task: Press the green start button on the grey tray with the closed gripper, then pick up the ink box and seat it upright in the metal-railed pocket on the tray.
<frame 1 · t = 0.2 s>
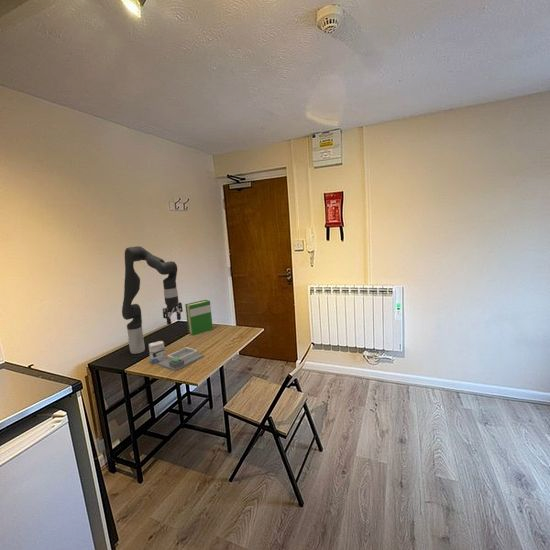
hand: (174, 322, 180), 28 cm above the table, fingers open, 8 cm apart
grey tray: (181, 360, 191), on the table
ink box: (158, 360, 193), on the table
start button: (176, 360, 182), point 5 cm above the table, slide at 0.0 cm
hardback book: (200, 331, 243), on the table
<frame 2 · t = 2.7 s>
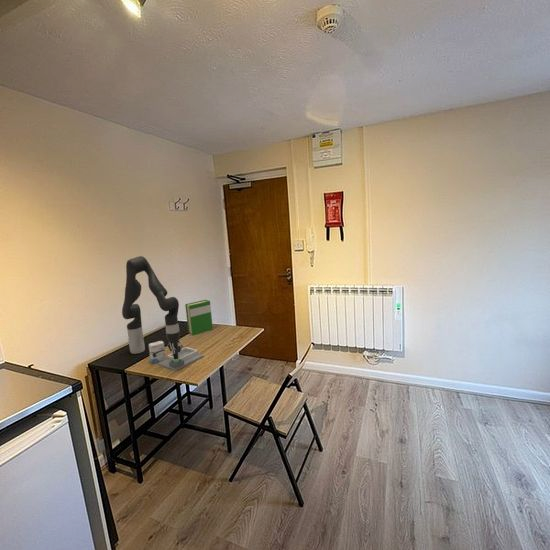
hand: (176, 358, 181), 6 cm above the table, fingers closed
start button: (176, 361, 182), point 4 cm above the table, slide at 0.8 cm, touching gripper
everything else where it was.
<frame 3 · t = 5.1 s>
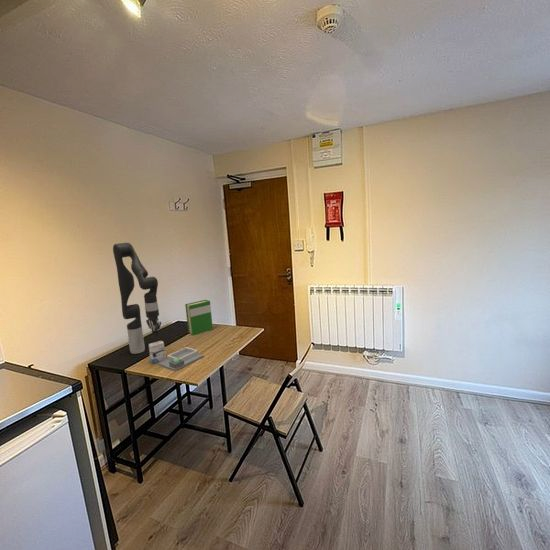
hand: (155, 335, 191), 17 cm above the table, fingers closed
start button: (176, 361, 182), point 3 cm above the table, slide at 1.1 cm
everything else where it was.
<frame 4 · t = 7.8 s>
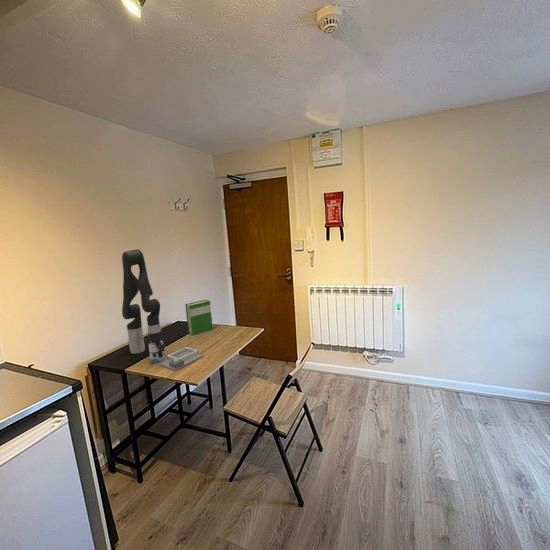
hand: (157, 356, 193), 3 cm above the table, fingers closed on ink box, 6 cm apart
ink box: (158, 360, 193), on the table, touching gripper
everything else where it was.
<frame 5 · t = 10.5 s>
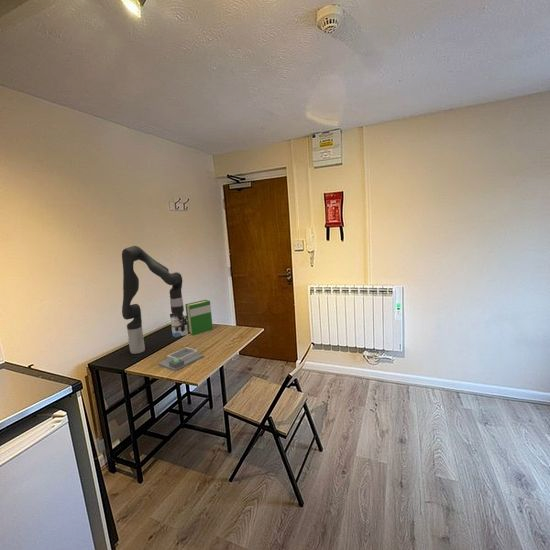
hand: (179, 330, 191), 19 cm above the table, fingers closed on ink box, 6 cm apart
ink box: (180, 335, 192), point 16 cm above the table, touching gripper
everything else where it was.
when the fingers open (5 cm above the table, at t = 13.5 s): ink box stays where it is, resting on grey tray.
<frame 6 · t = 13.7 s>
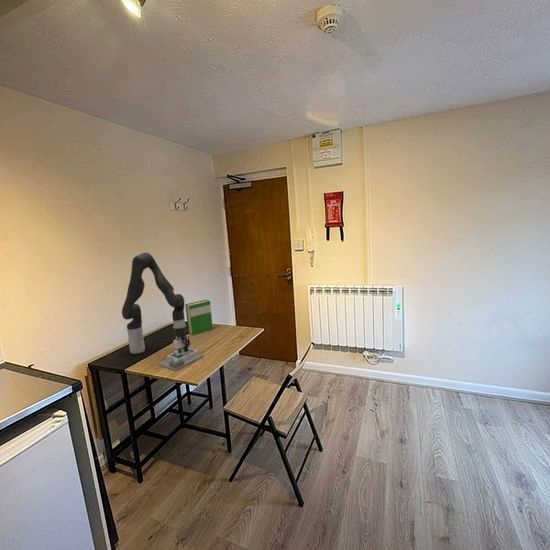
hand: (182, 350, 193), 5 cm above the table, fingers open, 7 cm apart
ink box: (182, 356, 194), point 1 cm above the table, touching grey tray
everything else where it was.
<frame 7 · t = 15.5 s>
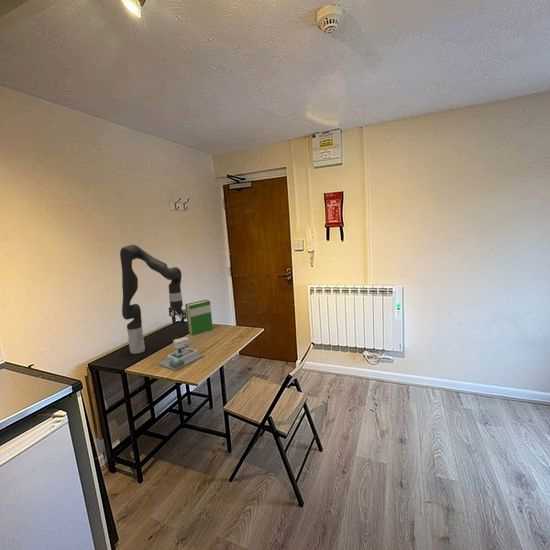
hand: (178, 324, 192), 23 cm above the table, fingers open, 8 cm apart
nothing on the table moved.
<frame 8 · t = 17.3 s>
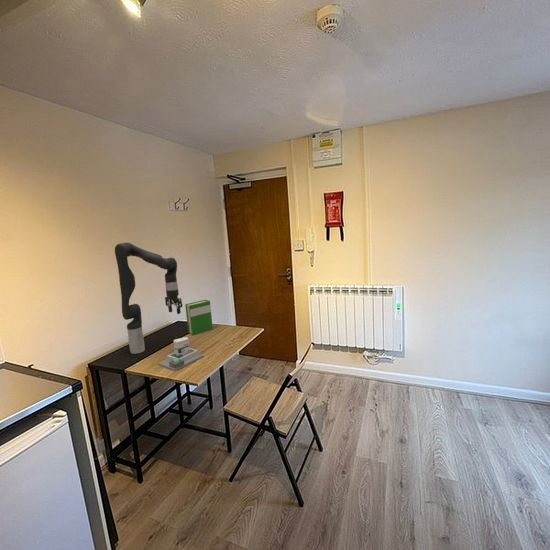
hand: (174, 312, 198), 28 cm above the table, fingers open, 8 cm apart
nothing on the table moved.
at the end: ink box 0.1 cm from the target spot on the grey tray, point 1.0 cm above the grey tray's base; ink box tilted 0°; start button slide at 1.1 cm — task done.
